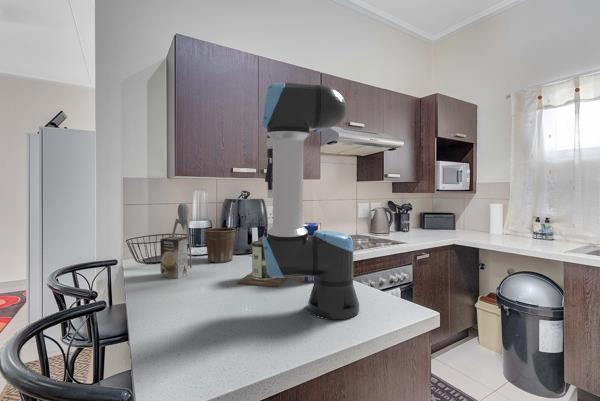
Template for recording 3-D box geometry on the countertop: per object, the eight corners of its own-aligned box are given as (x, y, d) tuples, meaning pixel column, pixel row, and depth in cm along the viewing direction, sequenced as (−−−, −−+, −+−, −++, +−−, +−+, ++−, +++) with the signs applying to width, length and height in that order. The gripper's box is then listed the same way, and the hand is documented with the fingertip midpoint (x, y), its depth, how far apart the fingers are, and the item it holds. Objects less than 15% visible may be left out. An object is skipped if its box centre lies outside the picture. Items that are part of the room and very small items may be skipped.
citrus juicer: (191, 262, 149) (190, 202, 148) (202, 265, 143) (201, 203, 142) (168, 267, 140) (167, 203, 139) (179, 270, 134) (178, 204, 133)
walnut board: (277, 287, 110) (277, 284, 110) (237, 283, 114) (237, 281, 114) (289, 275, 126) (289, 272, 126) (254, 272, 130) (253, 270, 130)
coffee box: (159, 277, 124) (159, 238, 123) (170, 273, 130) (169, 236, 129) (178, 278, 121) (177, 239, 121) (188, 274, 127) (187, 237, 127)
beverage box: (300, 281, 117) (300, 225, 116) (305, 274, 128) (304, 222, 127) (318, 282, 116) (318, 226, 115) (321, 274, 126) (320, 223, 126)
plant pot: (229, 255, 165) (228, 226, 164) (242, 261, 152) (241, 229, 151) (199, 259, 155) (199, 228, 155) (210, 265, 142) (210, 232, 142)
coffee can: (280, 273, 124) (280, 240, 124) (273, 281, 114) (273, 244, 114) (257, 272, 126) (256, 239, 126) (248, 279, 116) (247, 243, 116)
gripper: (276, 152, 143) (277, 197, 143) (256, 144, 119) (257, 198, 119) (291, 152, 141) (292, 197, 142) (274, 144, 117) (275, 198, 117)
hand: (276, 197), depth 130 cm, fingers open, 13 cm apart
